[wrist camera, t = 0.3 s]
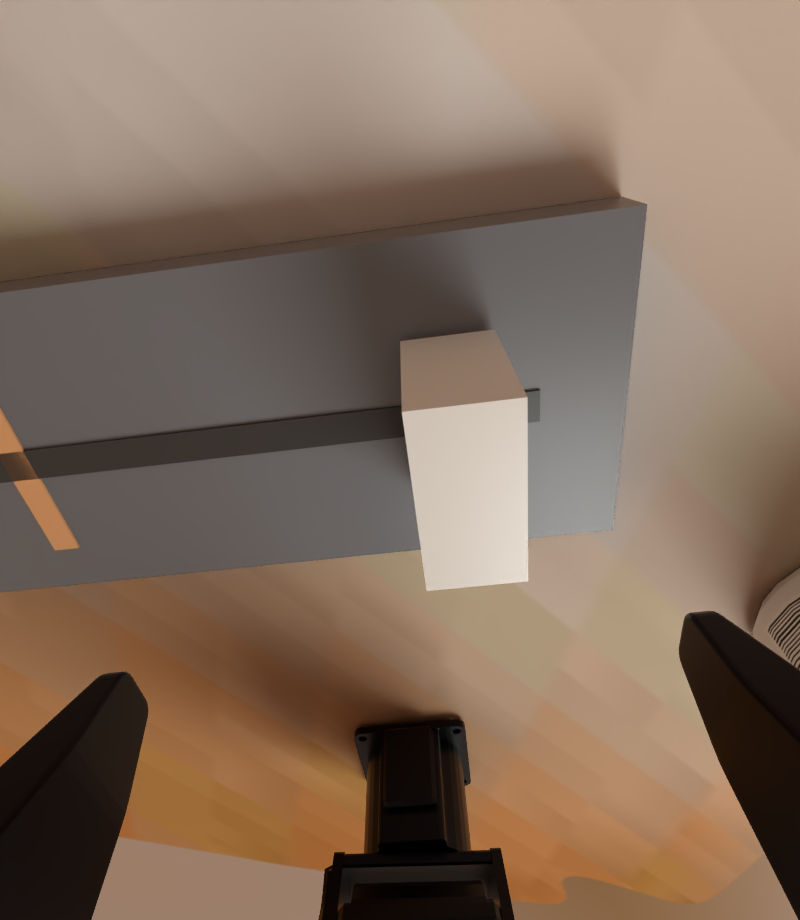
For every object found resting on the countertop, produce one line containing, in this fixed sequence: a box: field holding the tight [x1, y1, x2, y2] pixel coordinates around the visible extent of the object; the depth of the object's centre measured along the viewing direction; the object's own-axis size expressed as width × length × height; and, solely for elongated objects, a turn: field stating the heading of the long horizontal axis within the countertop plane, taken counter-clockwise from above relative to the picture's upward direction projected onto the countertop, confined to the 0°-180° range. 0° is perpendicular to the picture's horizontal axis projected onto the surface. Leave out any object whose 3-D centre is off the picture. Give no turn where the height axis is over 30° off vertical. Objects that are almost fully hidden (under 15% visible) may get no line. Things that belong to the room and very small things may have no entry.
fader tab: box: [400, 329, 528, 591], centre depth 17 cm, size 6×3×5 cm, turn 7°
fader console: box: [0, 197, 647, 592], centre depth 20 cm, size 12×30×2 cm, turn 97°
